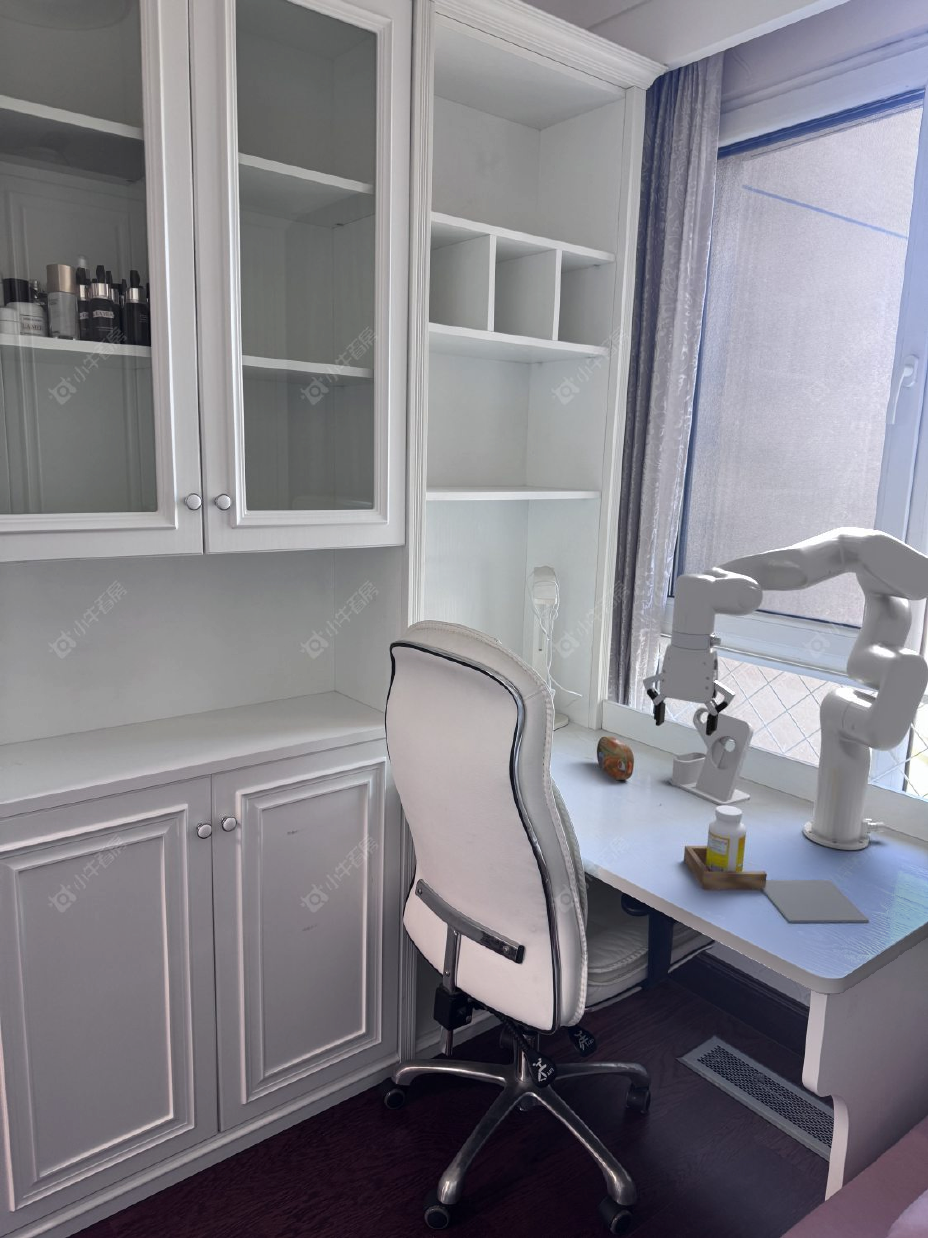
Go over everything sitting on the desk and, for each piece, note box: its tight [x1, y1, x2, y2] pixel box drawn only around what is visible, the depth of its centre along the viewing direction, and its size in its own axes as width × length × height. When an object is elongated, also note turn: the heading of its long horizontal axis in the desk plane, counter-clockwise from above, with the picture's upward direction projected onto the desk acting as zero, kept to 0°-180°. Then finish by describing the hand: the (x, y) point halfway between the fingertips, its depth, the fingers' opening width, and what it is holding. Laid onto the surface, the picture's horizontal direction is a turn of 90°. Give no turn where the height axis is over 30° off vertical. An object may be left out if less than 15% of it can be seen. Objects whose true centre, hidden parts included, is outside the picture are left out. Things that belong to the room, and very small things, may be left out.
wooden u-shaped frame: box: [683, 845, 768, 890], centre depth 161 cm, size 11×11×3 cm
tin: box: [596, 736, 635, 781], centre depth 211 cm, size 15×3×8 cm, turn 17°
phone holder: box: [669, 707, 755, 806], centre depth 201 cm, size 17×10×18 cm, turn 33°
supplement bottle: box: [705, 805, 747, 871], centre depth 160 cm, size 7×7×13 cm
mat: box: [761, 879, 870, 923], centre depth 152 cm, size 14×14×1 cm
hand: (684, 728), depth 163 cm, fingers open, 9 cm apart
